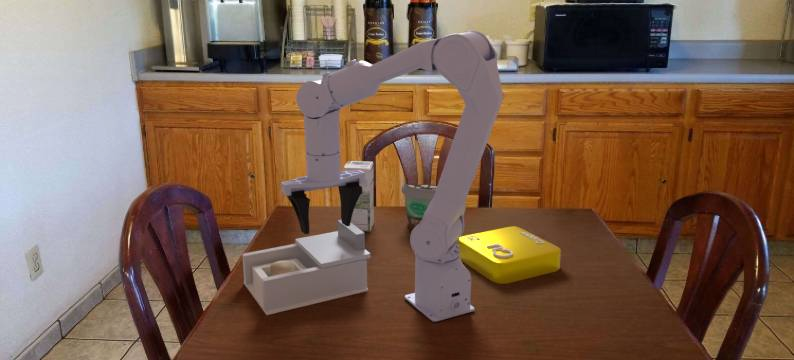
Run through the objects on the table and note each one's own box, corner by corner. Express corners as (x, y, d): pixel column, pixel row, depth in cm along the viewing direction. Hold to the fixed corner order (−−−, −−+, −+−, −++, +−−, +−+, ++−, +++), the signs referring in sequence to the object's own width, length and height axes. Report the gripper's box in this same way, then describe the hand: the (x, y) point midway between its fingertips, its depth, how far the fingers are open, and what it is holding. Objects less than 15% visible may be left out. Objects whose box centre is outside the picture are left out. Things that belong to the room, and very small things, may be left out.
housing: (367, 290, 110) (367, 259, 108) (266, 315, 101) (264, 282, 100) (337, 263, 120) (336, 235, 119) (243, 283, 112) (241, 253, 110)
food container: (394, 231, 137) (394, 187, 134) (402, 222, 142) (402, 179, 140) (450, 237, 133) (451, 192, 130) (456, 227, 139) (457, 184, 136)
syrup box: (374, 223, 142) (373, 160, 137) (370, 232, 136) (370, 167, 132) (349, 222, 142) (347, 159, 138) (344, 231, 136) (342, 166, 132)
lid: (370, 257, 108) (370, 237, 107) (321, 268, 104) (320, 246, 103) (341, 234, 119) (340, 215, 118) (295, 243, 115) (294, 223, 114)
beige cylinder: (299, 291, 108) (297, 266, 107) (276, 296, 106) (274, 271, 105) (290, 282, 111) (289, 258, 110) (268, 287, 110) (267, 263, 108)
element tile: (564, 271, 118) (566, 247, 117) (498, 287, 112) (499, 262, 110) (514, 244, 131) (516, 222, 130) (453, 257, 125) (453, 234, 123)
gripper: (351, 142, 113) (353, 214, 116) (273, 152, 106) (277, 228, 110) (369, 150, 107) (371, 226, 111) (287, 161, 100) (292, 241, 104)
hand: (325, 228), depth 110 cm, fingers open, 7 cm apart
